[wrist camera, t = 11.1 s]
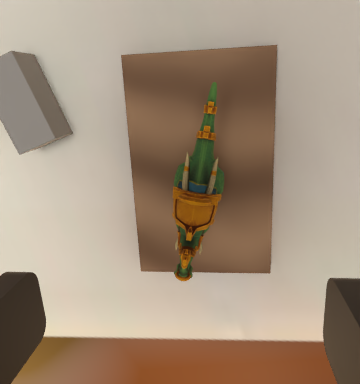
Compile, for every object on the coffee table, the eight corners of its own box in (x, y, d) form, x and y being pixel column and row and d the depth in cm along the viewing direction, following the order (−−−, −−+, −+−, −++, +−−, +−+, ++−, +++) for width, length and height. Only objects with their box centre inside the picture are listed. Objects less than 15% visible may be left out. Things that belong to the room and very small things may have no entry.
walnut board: (126, 56, 24) (121, 55, 23) (274, 47, 22) (276, 45, 21) (144, 263, 28) (141, 271, 27) (268, 265, 27) (270, 273, 26)
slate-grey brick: (2, 72, 25) (-26, 70, 22) (35, 54, 25) (11, 50, 22) (41, 147, 27) (19, 154, 24) (73, 132, 26) (55, 138, 23)
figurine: (169, 243, 26) (147, 309, 18) (192, 79, 22) (177, 75, 15) (209, 250, 26) (204, 320, 18) (239, 86, 22) (249, 85, 14)
